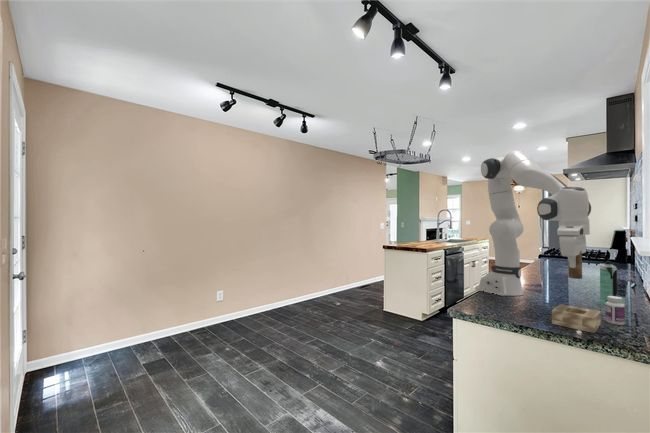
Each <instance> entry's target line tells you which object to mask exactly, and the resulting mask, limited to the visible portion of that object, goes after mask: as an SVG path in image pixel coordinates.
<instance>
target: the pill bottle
mask: <svg viewBox="0 0 650 433" xmlns="http://www.w3.org/2000/svg"><path fill="white" fill-rule="evenodd" d="M607 300H608V301H607V302H606V303H605V306H604V308H605V310H604V311H605V312H604V313H605V315H604V316H605V322H607V323H609V324H613V325H618V326H623V325H625V324H626V306H625V304H624V303H622V302H623V298H622V297H621V296H617V297H616V296H607Z"/></svg>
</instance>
